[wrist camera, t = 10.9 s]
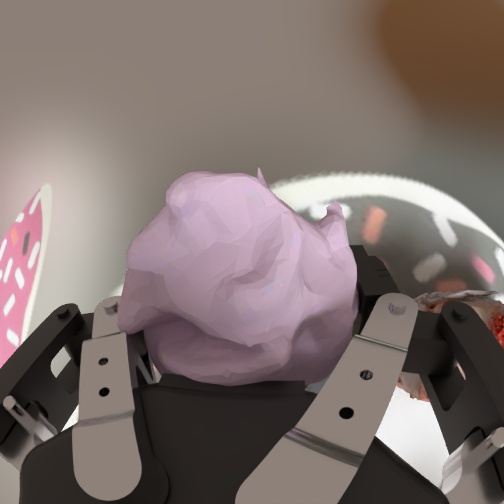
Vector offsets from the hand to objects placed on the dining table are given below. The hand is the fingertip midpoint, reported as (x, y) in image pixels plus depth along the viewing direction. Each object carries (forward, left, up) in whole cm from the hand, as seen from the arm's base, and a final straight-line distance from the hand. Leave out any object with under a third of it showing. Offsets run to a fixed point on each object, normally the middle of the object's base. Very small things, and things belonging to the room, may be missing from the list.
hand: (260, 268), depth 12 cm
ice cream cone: (+1, -1, -8) cm, 8 cm away
